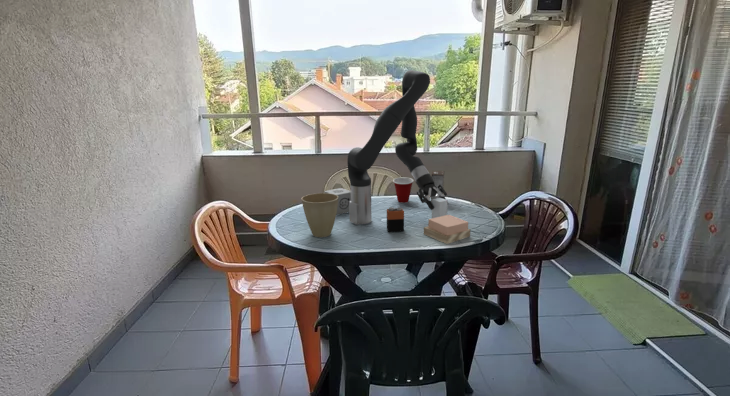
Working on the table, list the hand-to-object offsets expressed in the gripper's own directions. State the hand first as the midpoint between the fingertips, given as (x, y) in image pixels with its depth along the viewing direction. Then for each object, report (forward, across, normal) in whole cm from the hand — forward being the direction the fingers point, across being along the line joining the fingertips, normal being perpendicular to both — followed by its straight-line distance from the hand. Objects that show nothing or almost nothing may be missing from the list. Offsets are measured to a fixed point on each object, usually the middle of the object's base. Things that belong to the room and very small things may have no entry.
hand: (439, 207), depth 167 cm
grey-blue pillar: (+5, 0, +5) cm, 7 cm away
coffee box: (-10, +20, +20) cm, 30 cm away
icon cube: (-24, -28, +33) cm, 50 cm away
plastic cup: (-19, +7, +28) cm, 34 cm away
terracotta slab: (+13, -10, -8) cm, 18 cm away
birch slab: (+15, -10, -5) cm, 19 cm away
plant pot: (-8, -50, +17) cm, 54 cm away
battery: (+3, -23, +7) cm, 24 cm away
